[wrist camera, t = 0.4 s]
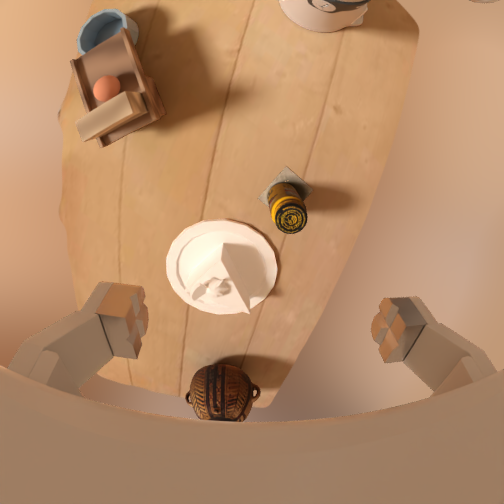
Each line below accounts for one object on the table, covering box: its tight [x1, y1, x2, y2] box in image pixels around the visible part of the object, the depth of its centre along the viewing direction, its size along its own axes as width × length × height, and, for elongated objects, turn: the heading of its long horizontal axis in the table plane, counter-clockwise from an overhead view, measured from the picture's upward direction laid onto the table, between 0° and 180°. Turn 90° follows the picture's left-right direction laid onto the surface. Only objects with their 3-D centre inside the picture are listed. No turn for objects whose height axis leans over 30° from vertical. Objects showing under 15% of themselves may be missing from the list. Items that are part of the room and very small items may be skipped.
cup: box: [77, 9, 139, 55], centre depth 32 cm, size 10×10×6 cm
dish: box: [166, 219, 278, 314], centre depth 57 cm, size 25×25×11 cm
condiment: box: [258, 167, 313, 234], centre depth 48 cm, size 7×8×12 cm
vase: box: [186, 364, 260, 422], centre depth 66 cm, size 21×18×30 cm
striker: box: [75, 91, 149, 142], centre depth 33 cm, size 4×9×7 cm, turn 108°
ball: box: [93, 75, 120, 102], centre depth 31 cm, size 4×4×4 cm
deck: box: [70, 27, 166, 148], centre depth 37 cm, size 18×11×10 cm, turn 18°
